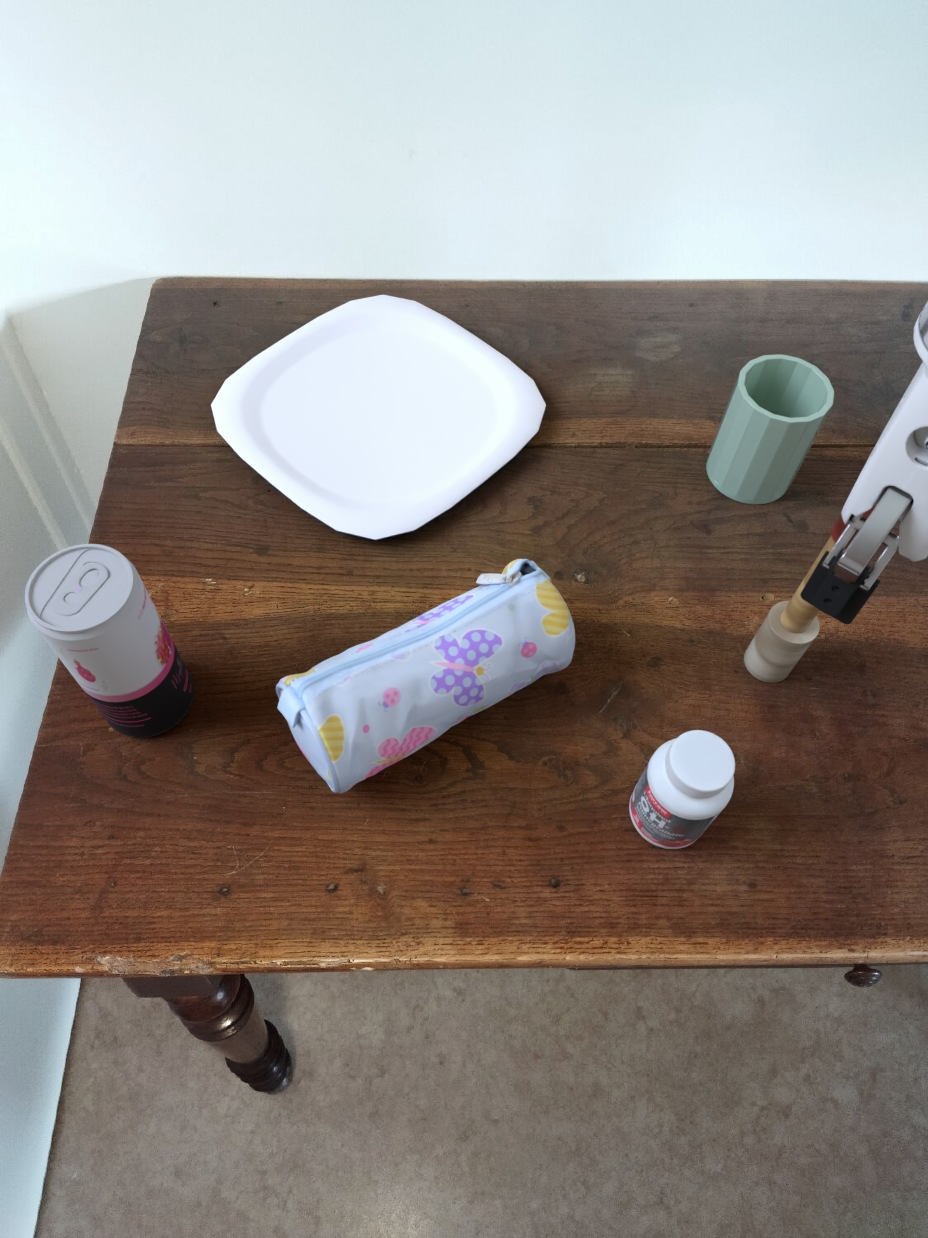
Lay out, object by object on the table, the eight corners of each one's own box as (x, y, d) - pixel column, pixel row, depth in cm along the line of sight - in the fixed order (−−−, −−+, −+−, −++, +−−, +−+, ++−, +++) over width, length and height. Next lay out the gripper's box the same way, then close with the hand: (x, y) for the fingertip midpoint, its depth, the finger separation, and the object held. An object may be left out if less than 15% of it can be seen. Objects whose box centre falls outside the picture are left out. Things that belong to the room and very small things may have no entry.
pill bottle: (617, 831, 60) (646, 779, 52) (641, 764, 63) (673, 704, 55) (692, 864, 59) (734, 816, 51) (714, 795, 62) (758, 738, 54)
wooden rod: (799, 659, 68) (904, 513, 53) (776, 691, 66) (878, 551, 51) (758, 633, 69) (849, 483, 54) (735, 664, 68) (822, 519, 52)
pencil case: (513, 596, 70) (523, 523, 62) (579, 678, 67) (599, 612, 59) (276, 725, 64) (253, 662, 56) (334, 823, 60) (318, 771, 52)
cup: (805, 467, 78) (850, 383, 70) (764, 518, 75) (806, 436, 67) (732, 427, 81) (767, 341, 72) (690, 475, 77) (721, 390, 69)
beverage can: (213, 682, 66) (159, 567, 53) (158, 755, 63) (86, 651, 50) (142, 646, 67) (72, 525, 54) (85, 715, 64) (-3, 605, 51)
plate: (576, 416, 81) (579, 402, 79) (375, 580, 71) (374, 568, 69) (384, 286, 89) (383, 272, 88) (181, 416, 79) (176, 402, 78)
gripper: (1027, 480, 34) (856, 689, 49) (1160, 265, 41) (977, 502, 56) (848, 392, 37) (736, 615, 51) (1004, 204, 44) (867, 446, 58)
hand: (862, 556), depth 53 cm, fingers open, 9 cm apart
